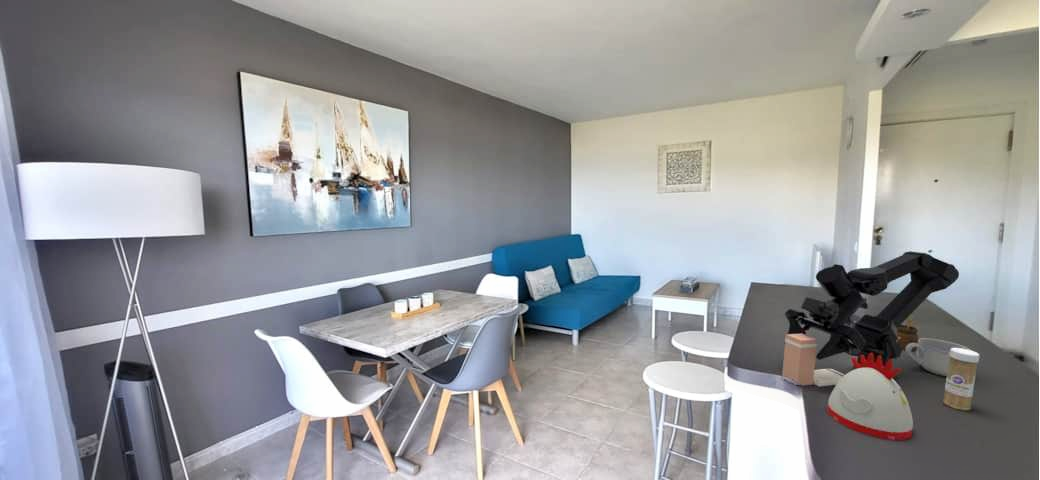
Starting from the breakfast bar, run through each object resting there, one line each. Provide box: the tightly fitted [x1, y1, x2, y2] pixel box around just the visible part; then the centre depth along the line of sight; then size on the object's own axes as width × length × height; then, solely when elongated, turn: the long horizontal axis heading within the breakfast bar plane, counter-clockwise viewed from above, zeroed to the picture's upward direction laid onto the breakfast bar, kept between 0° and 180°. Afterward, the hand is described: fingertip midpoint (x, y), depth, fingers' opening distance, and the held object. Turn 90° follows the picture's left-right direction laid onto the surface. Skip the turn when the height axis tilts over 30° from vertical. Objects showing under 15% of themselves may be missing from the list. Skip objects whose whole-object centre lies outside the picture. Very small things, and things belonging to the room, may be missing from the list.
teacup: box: [904, 337, 973, 377], centre depth 113 cm, size 14×11×8 cm
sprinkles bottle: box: [942, 348, 980, 411], centre depth 93 cm, size 5×5×13 cm
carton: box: [781, 333, 818, 386], centre depth 105 cm, size 5×5×12 cm
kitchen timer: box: [826, 353, 914, 441], centre depth 86 cm, size 14×14×15 cm
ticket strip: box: [813, 368, 846, 387], centre depth 108 cm, size 12×7×1 cm, turn 102°
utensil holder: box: [896, 313, 919, 352], centre depth 131 cm, size 6×6×12 cm
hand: (800, 351), depth 105 cm, fingers open, 9 cm apart
